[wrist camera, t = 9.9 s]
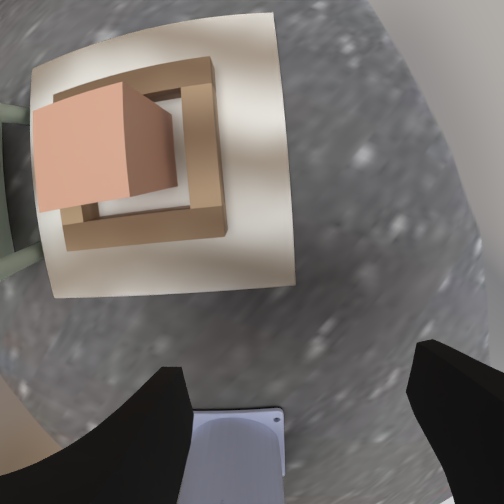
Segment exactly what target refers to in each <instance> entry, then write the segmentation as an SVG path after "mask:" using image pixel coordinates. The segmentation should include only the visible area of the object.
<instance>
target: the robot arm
mask: <svg viewBox="0 0 504 504" xmlns="http://www.w3.org/2000/svg"><path fill="white" fill-rule="evenodd" d="M406 393H407V396H408V399H409V402H410V404H411V407H412V410H413V412H414V415H415V417H416V419H417V421H418V423H419V424H420V426H421V428H422V430H423V432H424V434H425V436H426V437H427V439H428V441H429V443H430V445H431V446H432V448H433V450H434V452H435V454H436V456H437V458H438V460H439V461H440V463H441V465H442V468H443V470H444V472H445V474H446V477H447V480H448V483H449V486H450V489H451V492H452V495H453V498H454V502H455V504H504V373H503V372H501V371H499V370H496V369H494V368H492V367H490V366H488V365H486V364H484V363H481V362H479V361H477V360H475V359H473V358H471V357H469V356H467V355H465V354H463V353H461V352H459V351H458V350H455V349H453V348H451V347H449V346H447V345H445V344H443V343H441V342H438V341H436V340H433V339H431V340H427V341H422V342H418V343H417V344H416V349H415V354H414V359H413V364H412V368H411V373H410V377H409V381H408V385H407V389H406ZM275 418H278V419H275ZM184 470H185V471H184ZM183 474H184V476H183ZM284 475H285V448H284V414H283V410H282V409H280V408H268V409H253V410H230V411H193V410H192V406H191V402H190V399H189V395H188V391H187V387H186V383H185V379H184V376H183V371H182V367H161V368H160V369H159V370H158V371H157V372H156V373H155V374H154V375H153V376H152V377H151V378H150V379H149V380H148V381H147V382H146V383H145V384H144V385H143V386H142V387H141V388H140V389H139V390H138V391H137V392H136V393H135V394H134V395H133V396H131V397H130V398H129V399H128V400H127V401H126V402H125V403H124V404H123V405H122V406H121V407H120V408H118V409H117V410H116V411H115V412H114V413H113V414H111V415H110V416H109V417H108V418H107V419H105V420H104V421H103V422H102V423H101V424H99V425H98V426H97V427H96V428H94V429H93V430H92V431H90V432H89V433H87V434H86V435H85V436H83V437H82V438H80V439H79V440H77V441H76V442H74V443H72V444H71V445H69V446H68V447H66V448H64V449H63V450H61V451H59V452H57V453H55V454H53V455H51V456H49V457H47V458H45V459H43V460H42V461H39V462H37V463H35V464H33V465H30V466H28V467H25V468H23V469H20V470H17V471H15V472H11V473H9V474H6V475H2V476H0V504H177V498H178V494H179V490H180V486H181V482H182V487H181V492H180V497H179V502H178V504H285V498H284V487H283V476H284ZM182 478H183V481H182Z"/></svg>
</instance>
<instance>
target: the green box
mask: <svg viewBox="0 0 504 504" xmlns="http://www.w3.org/2000/svg"><path fill="white" fill-rule="evenodd" d="M2 122H5V123H14V124H22V125H29V124H30V108H25V107H20V106H15V105H10V104H4V103H0V281H2V280H4V279H5V278H7V277H9V276H11V275H13V274H15V273H17V272H19V271H20V270H22V269H24V268H26V267H28V266H30V265H32V264H34V263H36V262H38V261H40V260H42V259H44V258H45V257H44V252H43V247H42V242H38V243H36V244H33V245H31V246H29V247H26V248H24V249H22V250H19V251H17V252H14V247H13V241H12V236H11V230H10V224H9V218H8V211H7V203H6V194H5V184H4V172H3V154H2Z"/></svg>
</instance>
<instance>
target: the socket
mask: <svg viewBox="0 0 504 504" xmlns="http://www.w3.org/2000/svg"><path fill="white" fill-rule="evenodd" d="M119 82H124V83H125V84H127V85H128V86H130V87H131V88H133V89H134V90H136V91H138V92H139V93H141V94H142V95H144V96H145V97H147V98H148V99H150V100H151V101H153V102H154V103H156V104H157V105H159V106H160V107H162V108H163V109H164V110H166V111H167V112H169V113H170V114H172V122H173V136H174V149H175V160H176V171H177V182H178V186H177V187H172V188H168V189H163V190H159V191H154V192H150V193H146V194H141V195H137V196H133V197H128V198H122V199H115V200H109V201H102V202H96V203H90V204H85V205H79V206H73V207H68V208H62V209H57V210H52V211H47V212H42V213H39V206H38V198H37V189H36V179H35V167H34V151H33V111H34V110H37V109H39V108H42V107H44V106H47V105H50V104H52V103H55V102H58V101H60V100H63V99H66V98H69V97H72V96H75V95H78V94H81V93H84V92H87V91H91V90H94V89H97V88H101V87H104V86H108V85H112V84H115V83H119ZM30 144H31V163H32V176H33V187H34V196H35V204H36V211H37V218H38V225H39V231H40V236H41V242H42V247H43V252H44V257H45V262H46V266H47V271H48V275H49V279H50V283H51V287H52V291H53V295H54V298H81V297H113V296H139V295H160V294H179V293H196V292H212V291H227V290H241V289H255V288H267V287H280V286H291V285H295V261H294V240H293V222H292V205H291V190H290V176H289V163H288V150H287V138H286V127H285V116H284V105H283V95H282V85H281V76H280V67H279V58H278V49H277V41H276V33H275V25H274V17H273V13H254V14H239V15H228V16H219V17H211V18H203V19H196V20H190V21H184V22H178V23H173V24H168V25H163V26H158V27H154V28H149V29H145V30H141V31H137V32H133V33H129V34H126V35H122V36H119V37H115V38H112V39H109V40H105V41H102V42H99V43H96V44H93V45H90V46H87V47H84V48H82V49H79V50H76V51H74V52H71V53H68V54H66V55H63V56H61V57H58V58H56V59H54V60H51V61H49V62H47V63H44V64H42V65H40V66H38V67H36V68H33V69H32V80H31V98H30Z"/></svg>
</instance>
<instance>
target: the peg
mask: <svg viewBox="0 0 504 504" xmlns="http://www.w3.org/2000/svg"><path fill="white" fill-rule="evenodd" d="M33 151H34V167H35V179H36V189H37V198H38V206H39V213H42V212H47V211H52V210H57V209H62V208H68V207H73V206H79V205H85V204H90V203H96V202H102V201H109V200H115V199H122V198H128V197H133V196H137V195H141V194H146V193H150V192H154V191H159V190H163V189H168V188H172V187H177V186H178V182H177V171H176V160H175V149H174V136H173V122H172V114H170V113H169V112H167V111H166V110H164V109H163V108H162V107H160V106H159V105H157V104H156V103H154V102H153V101H151V100H150V99H148V98H147V97H145V96H144V95H142V94H141V93H139V92H138V91H136V90H134V89H133V88H131V87H130V86H128V85H127V84H125V83H124V82H119V83H115V84H112V85H108V86H104V87H101V88H97V89H94V90H91V91H87V92H84V93H81V94H78V95H75V96H72V97H69V98H66V99H63V100H60V101H58V102H55V103H52V104H50V105H47V106H44V107H42V108H39V109H37V110H34V111H33Z"/></svg>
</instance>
